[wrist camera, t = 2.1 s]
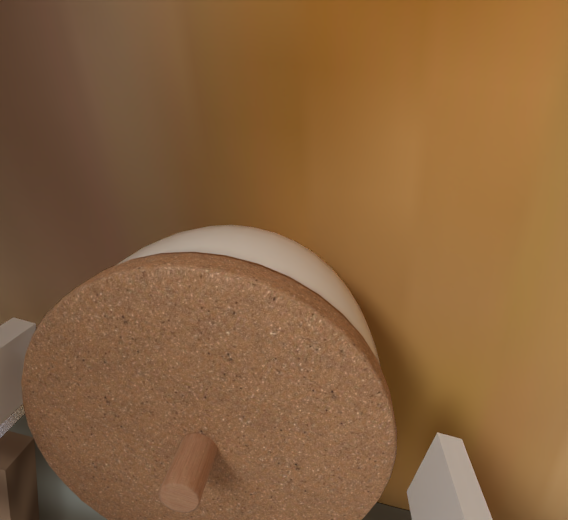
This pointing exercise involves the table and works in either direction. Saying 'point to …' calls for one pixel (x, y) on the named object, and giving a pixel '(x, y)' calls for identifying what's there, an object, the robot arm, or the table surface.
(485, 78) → the table surface
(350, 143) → the table surface
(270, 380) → the lidded jar
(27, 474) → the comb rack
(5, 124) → the table surface
